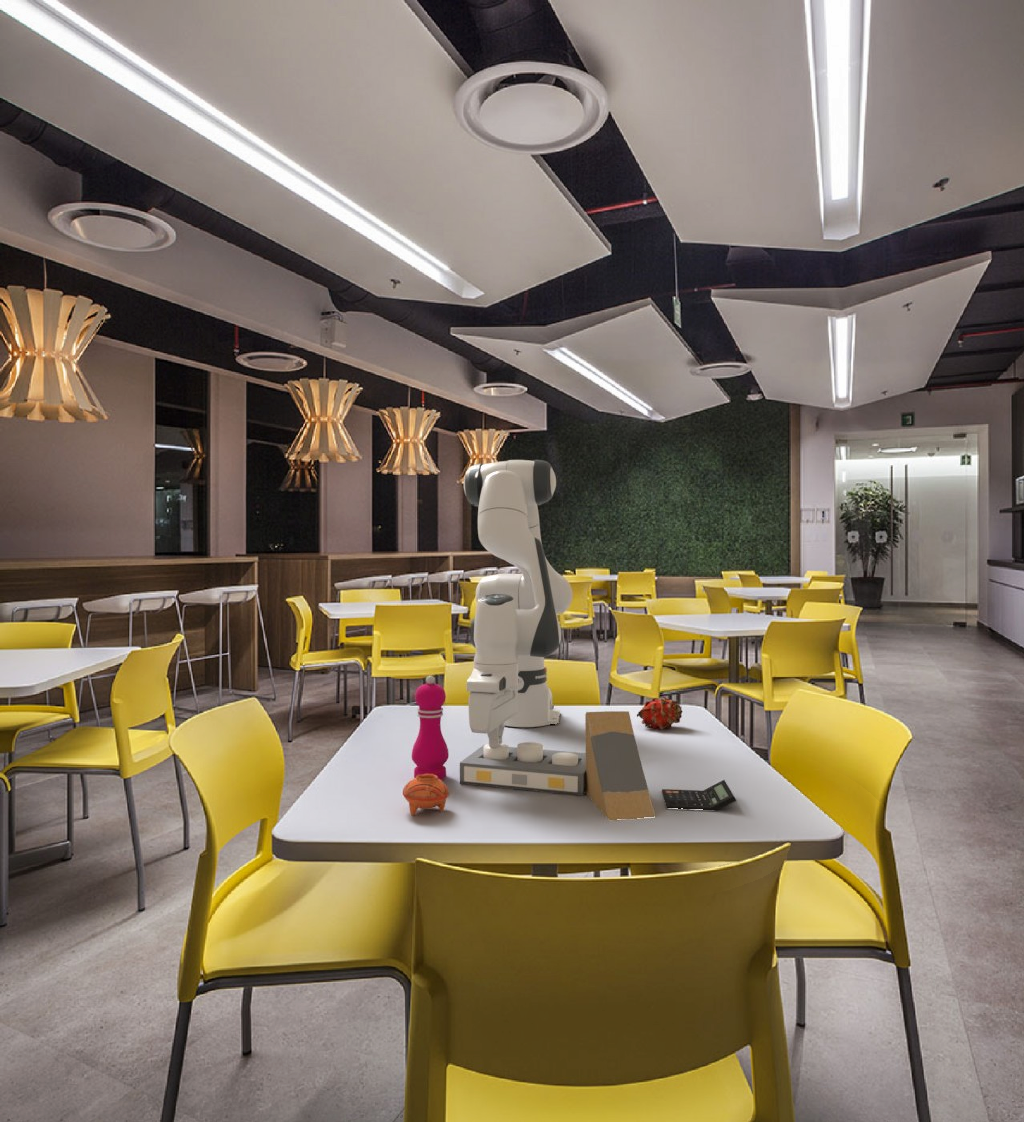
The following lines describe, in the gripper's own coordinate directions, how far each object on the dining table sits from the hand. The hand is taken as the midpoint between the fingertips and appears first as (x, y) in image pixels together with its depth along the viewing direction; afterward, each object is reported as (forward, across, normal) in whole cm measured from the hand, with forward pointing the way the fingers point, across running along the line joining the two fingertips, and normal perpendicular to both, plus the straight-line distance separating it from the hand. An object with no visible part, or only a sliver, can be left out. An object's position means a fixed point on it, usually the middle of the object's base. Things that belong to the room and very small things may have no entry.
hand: (495, 746), depth 145 cm
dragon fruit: (+6, -51, +27) cm, 58 cm away
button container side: (+5, 0, +14) cm, 15 cm away
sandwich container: (+6, +9, +26) cm, 28 cm away
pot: (+6, +23, -5) cm, 24 cm away
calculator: (+6, +4, +39) cm, 40 cm away
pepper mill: (+6, +5, -12) cm, 14 cm away
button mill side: (+4, 0, 0) cm, 4 cm away
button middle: (+3, 0, +7) cm, 8 cm away
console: (+6, 0, +7) cm, 9 cm away
